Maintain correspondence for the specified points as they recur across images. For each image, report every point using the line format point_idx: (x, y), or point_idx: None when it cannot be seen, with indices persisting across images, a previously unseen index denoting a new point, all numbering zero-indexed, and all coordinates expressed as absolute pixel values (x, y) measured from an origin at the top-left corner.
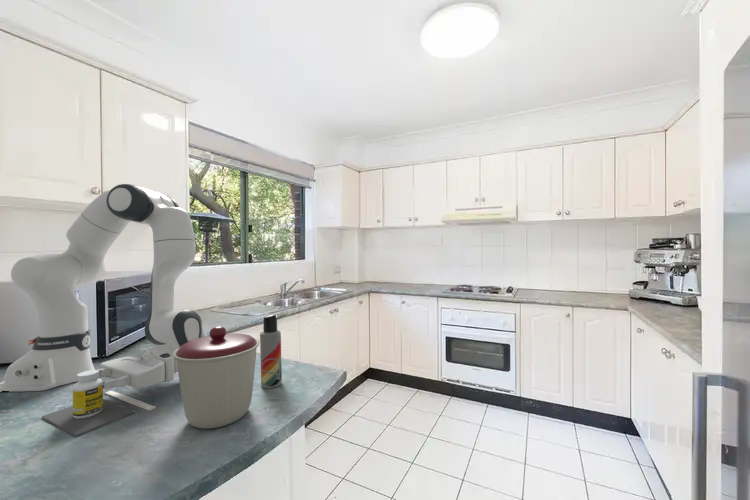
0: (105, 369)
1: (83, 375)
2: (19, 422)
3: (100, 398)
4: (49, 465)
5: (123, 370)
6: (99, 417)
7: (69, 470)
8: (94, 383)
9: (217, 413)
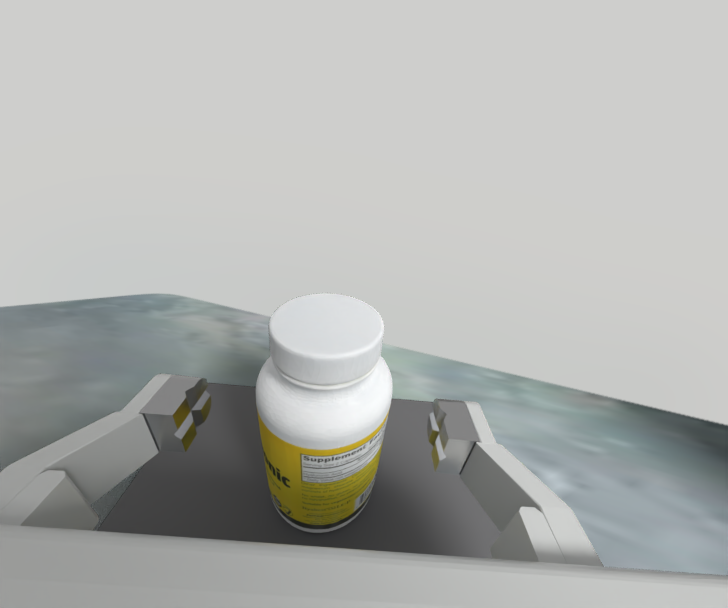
0: (534, 555)
1: (302, 297)
2: (471, 379)
3: (266, 462)
4: (157, 326)
5: (116, 542)
6: (231, 474)
7: (85, 327)
8: (264, 368)
9: None
